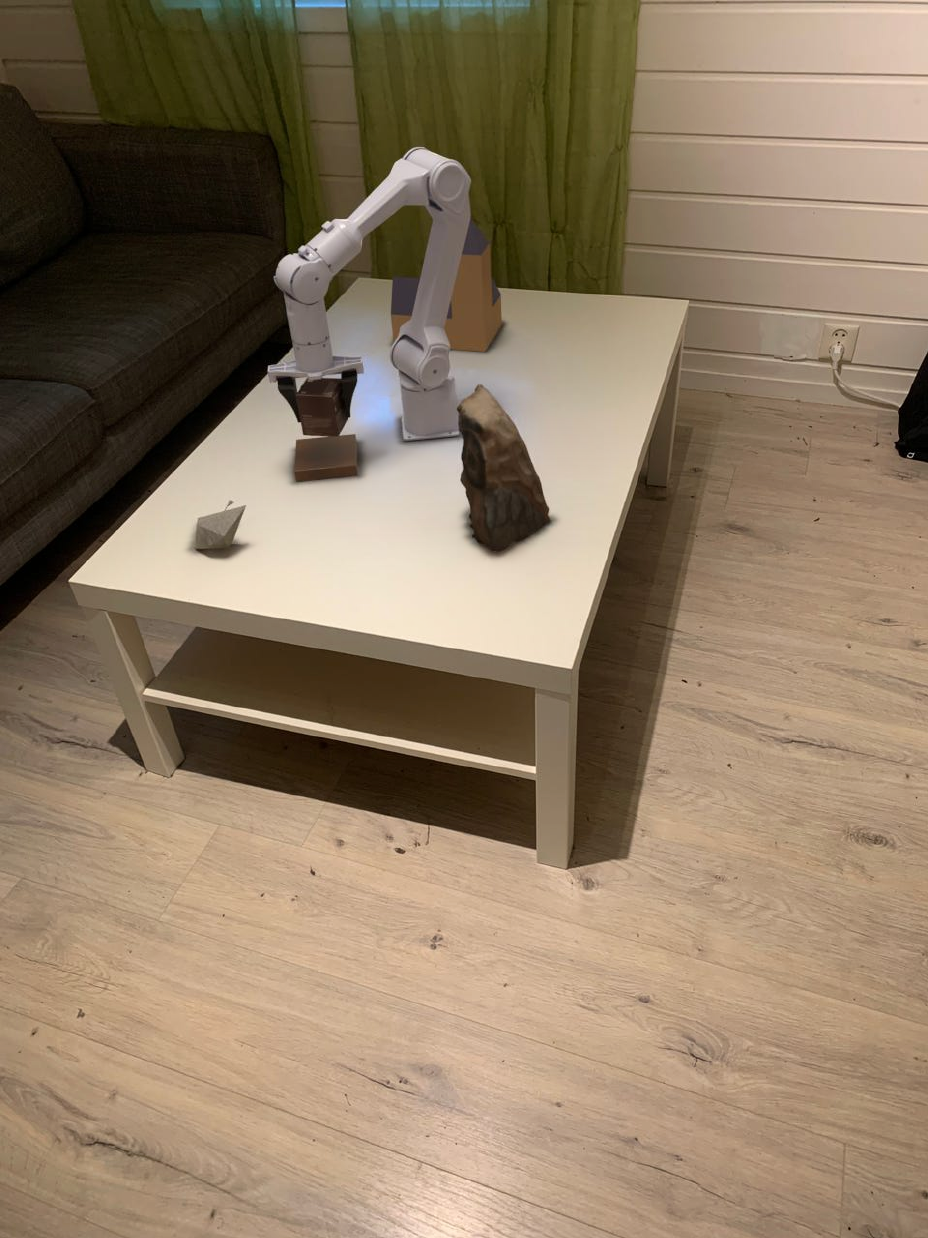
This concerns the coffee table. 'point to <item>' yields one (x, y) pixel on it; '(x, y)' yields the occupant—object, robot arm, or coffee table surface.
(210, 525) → the paper boat
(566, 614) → the coffee table surface
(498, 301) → the toy building blocks
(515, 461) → the brown rock
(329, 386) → the box
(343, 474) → the copper block
